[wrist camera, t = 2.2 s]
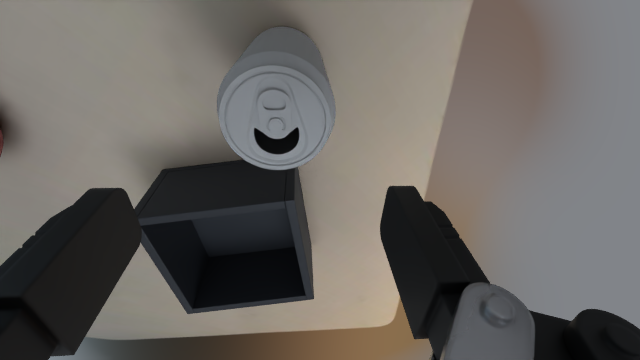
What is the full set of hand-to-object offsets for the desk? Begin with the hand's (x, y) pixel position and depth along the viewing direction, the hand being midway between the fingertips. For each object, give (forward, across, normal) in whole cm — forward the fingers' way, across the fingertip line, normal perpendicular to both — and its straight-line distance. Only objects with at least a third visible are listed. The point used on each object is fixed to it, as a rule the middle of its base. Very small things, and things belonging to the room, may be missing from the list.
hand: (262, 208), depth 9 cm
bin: (+19, +5, +16) cm, 25 cm away
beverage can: (+19, 0, 0) cm, 19 cm away
